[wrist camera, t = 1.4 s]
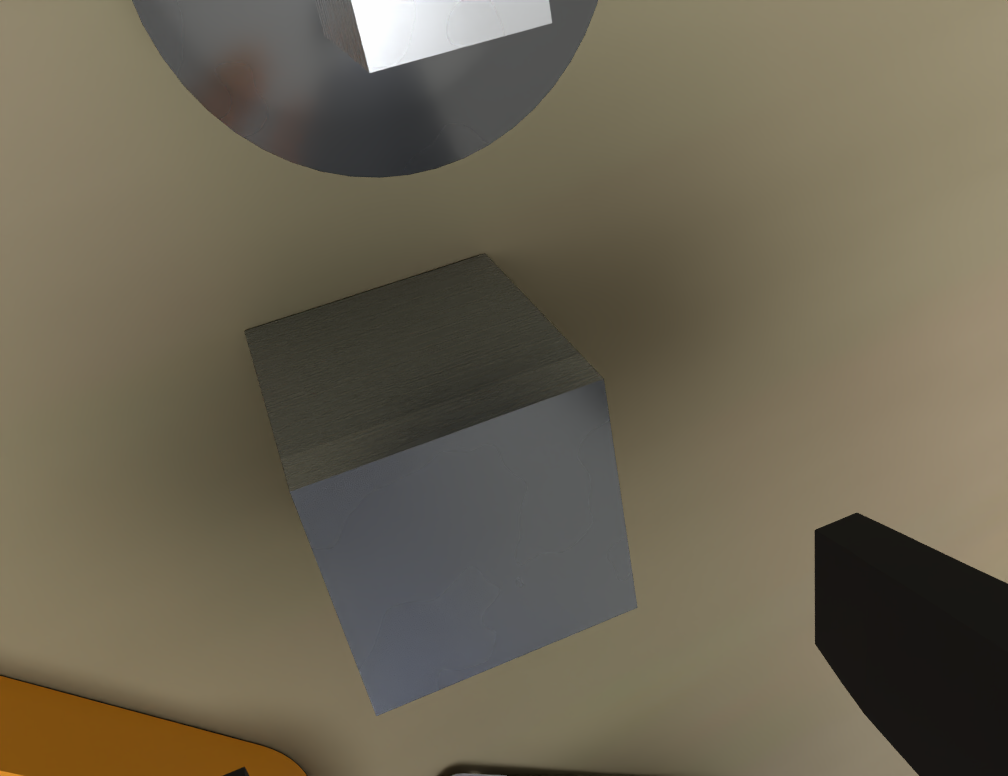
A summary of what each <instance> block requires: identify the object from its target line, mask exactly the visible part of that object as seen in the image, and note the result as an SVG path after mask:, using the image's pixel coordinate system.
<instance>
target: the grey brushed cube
mask: <svg viewBox="0 0 1008 776" xmlns="http://www.w3.org/2000/svg"><path fill="white" fill-rule="evenodd" d="M245 335H246V338H247V342H248V345H249V349H250V352H251V356H252V359H253V363H254V367H255V370H256V374H257V377H258V381H259V384H260V388H261V391H262V395H263V398H264V402H265V406H266V409H267V413H268V416H269V420H270V423H271V427H272V430H273V434H274V437H275V441H276V445H277V448H278V452H279V455H280V459H281V462H282V466H283V469H284V473H285V477H286V480H287V484H288V487H289V491H290V494H291V496H292V499H293V501H294V504H295V507H296V509H297V512H298V514H299V517H300V519H301V522H302V525H303V527H304V530H305V532H306V535H307V538H308V540H309V543H310V545H311V548H312V551H313V553H314V556H315V558H316V561H317V563H318V566H319V569H320V571H321V574H322V576H323V579H324V582H325V584H326V587H327V589H328V592H329V595H330V597H331V600H332V602H333V605H334V607H335V610H336V613H337V615H338V618H339V620H340V623H341V626H342V628H343V631H344V633H345V636H346V639H347V641H348V644H349V646H350V649H351V651H352V654H353V657H354V659H355V662H356V664H357V667H358V670H359V672H360V675H361V677H362V680H363V683H364V685H365V688H366V690H367V693H368V695H369V698H370V701H371V703H372V706H373V708H374V711H375V714H376V716H378V715H380V714H383V713H385V712H387V711H390V710H392V709H395V708H397V707H399V706H402V705H404V704H407V703H409V702H411V701H414V700H416V699H419V698H421V697H423V696H426V695H428V694H431V693H433V692H436V691H438V690H440V689H443V688H445V687H448V686H450V685H452V684H455V683H457V682H460V681H462V680H464V679H467V678H469V677H472V676H474V675H476V674H479V673H481V672H484V671H486V670H488V669H491V668H493V667H496V666H498V665H500V664H503V663H505V662H508V661H510V660H513V659H515V658H517V657H520V656H522V655H525V654H527V653H529V652H532V651H534V650H537V649H539V648H541V647H544V646H546V645H549V644H551V643H553V642H556V641H558V640H561V639H563V638H565V637H568V636H570V635H573V634H575V633H577V632H580V631H582V630H585V629H587V628H589V627H592V626H594V625H597V624H599V623H602V622H604V621H606V620H609V619H611V618H614V617H616V616H618V615H621V614H623V613H626V612H628V611H630V610H633V609H635V608H637V601H636V595H635V588H634V581H633V574H632V567H631V561H630V554H629V547H628V540H627V533H626V527H625V520H624V513H623V506H622V499H621V493H620V486H619V479H618V472H617V465H616V458H615V452H614V445H613V438H612V431H611V424H610V418H609V411H608V404H607V397H606V390H605V384H604V379H603V378H602V376H601V375H600V374H599V373H598V372H597V371H596V370H595V369H594V368H593V367H592V366H591V365H590V364H589V363H588V362H587V361H586V360H585V359H584V357H583V356H582V355H581V354H580V353H579V352H578V351H577V350H576V349H575V348H574V347H573V346H572V345H571V344H570V343H569V342H568V341H567V340H566V338H565V337H564V336H563V335H562V334H561V333H560V332H559V331H558V330H557V329H556V328H555V327H554V326H553V325H552V324H551V323H550V322H549V321H548V319H547V318H546V317H545V316H544V315H543V314H542V313H541V312H540V311H539V310H538V309H537V308H536V307H535V306H534V305H533V304H532V303H531V302H530V300H529V299H528V298H527V297H526V296H525V295H524V294H523V293H522V292H521V291H520V290H519V289H518V288H517V287H516V286H515V285H514V284H513V283H512V281H511V280H510V279H509V278H508V277H507V276H506V275H505V274H504V273H503V272H502V271H501V270H500V269H499V268H498V267H497V266H496V265H495V264H494V262H493V261H492V260H491V259H490V258H489V257H488V256H487V255H486V254H482V255H479V256H476V257H473V258H470V259H467V260H464V261H461V262H458V263H454V264H451V265H448V266H445V267H442V268H439V269H436V270H433V271H430V272H426V273H423V274H420V275H417V276H414V277H411V278H408V279H405V280H402V281H399V282H395V283H392V284H389V285H386V286H383V287H380V288H377V289H374V290H371V291H367V292H364V293H361V294H358V295H355V296H352V297H349V298H346V299H343V300H339V301H336V302H333V303H330V304H327V305H324V306H321V307H318V308H315V309H311V310H308V311H305V312H302V313H299V314H296V315H293V316H290V317H287V318H284V319H280V320H277V321H274V322H271V323H268V324H265V325H262V326H259V327H256V328H252V329H249V330H246V331H245Z"/></svg>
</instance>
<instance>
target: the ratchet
mask: <svg viewBox="0 0 1008 776" xmlns="http://www.w3.org/2000/svg"><path fill="white" fill-rule="evenodd" d="M132 1H133V3H134V6H135V8H136V10H137V12H138V15H139V17H140V19H141V22H142V24H143V26H144V27H145V29H146V31H147V32H148V34H149V36H150V38H151V39H152V41H153V43H154V44H155V46H156V48H157V49H158V51H159V53H160V55H161V56H162V58H163V59H164V60H165V62H166V63H167V64H168V65H169V67H170V68H171V69H172V71H173V72H174V73H175V75H176V76H177V77H178V79H179V80H180V81H181V83H182V84H183V85H184V86H185V87H186V88H187V89H188V90H189V91H190V92H191V93H192V94H193V95H194V97H195V98H196V99H197V100H198V101H199V102H200V103H201V104H202V105H203V106H204V107H205V108H206V109H207V110H208V111H209V112H211V113H212V114H213V115H214V116H216V117H217V118H218V119H219V120H221V121H222V122H223V123H224V124H226V125H227V126H228V127H229V128H230V129H232V130H233V131H234V132H236V133H237V134H239V135H241V136H242V137H244V138H245V139H247V140H249V141H250V142H252V143H254V144H255V145H257V146H258V147H260V148H262V149H263V150H266V151H268V152H270V153H272V154H274V155H277V156H279V157H281V158H283V159H285V160H288V161H290V162H292V163H295V164H299V165H302V166H305V167H309V168H312V169H315V170H318V171H322V172H328V173H334V174H340V175H346V176H354V177H390V176H400V175H410V174H414V173H418V172H423V171H427V170H431V169H436V168H439V167H441V166H444V165H447V164H449V163H452V162H455V161H458V160H460V159H463V158H465V157H467V156H469V155H471V154H473V153H474V152H476V151H478V150H480V149H482V148H484V147H486V146H488V145H489V144H491V143H492V142H494V141H495V140H497V139H498V138H499V137H501V136H502V135H504V134H505V133H507V132H508V131H509V130H511V129H512V128H513V127H514V126H516V125H517V124H518V123H519V122H520V121H521V120H522V119H523V118H524V117H526V116H527V115H528V114H529V113H530V112H531V111H532V110H533V109H534V108H535V107H536V106H537V105H538V104H539V103H540V101H541V100H542V99H543V98H544V97H545V96H546V95H547V93H548V92H549V91H550V90H551V89H552V88H553V87H554V85H555V84H556V82H557V81H558V79H559V78H560V76H561V75H562V73H563V72H564V71H565V69H566V68H567V66H568V65H569V63H570V62H571V60H572V58H573V56H574V54H575V52H576V50H577V49H578V47H579V45H580V43H581V41H582V39H583V37H584V35H585V33H586V31H587V28H588V26H589V23H590V21H591V18H592V16H593V13H594V10H595V8H596V5H597V2H598V0H132Z"/></svg>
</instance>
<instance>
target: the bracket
mask: <svg viewBox="0 0 1008 776" xmlns="http://www.w3.org/2000/svg"><path fill="white" fill-rule="evenodd" d="M244 766H245V768H246V770H247V772H248V774H249V776H307V775H306V774H305V772H304V771H303V770H302V769H301V768H300V767H299V766H298V765H297V764H296V763H295V762H294V761H292V760H291V759H290V758H288V757H286V756H285V755H283V754H281V753H279V752H277V751H275V750H273V749H270V748H267V747H264V746H261V745H257V744H253V743H249V742H246V741H242V740H238V739H234V738H231V737H227V736H223V735H219V734H216V733H212V732H208V731H205V730H201V729H197V728H193V727H190V726H186V725H182V724H178V723H175V722H171V721H167V720H163V719H160V718H156V717H152V716H148V715H145V714H141V713H137V712H134V711H130V710H126V709H122V708H119V707H115V706H111V705H107V704H104V703H100V702H96V701H92V700H89V699H85V698H81V697H78V696H74V695H70V694H66V693H63V692H59V691H55V690H51V689H48V688H44V687H40V686H36V685H33V684H29V683H25V682H22V681H18V680H14V679H10V678H7V677H3V676H0V776H223V775H225V774H228V773H230V772H232V771H235V770H237V769H240V768H242V767H244Z"/></svg>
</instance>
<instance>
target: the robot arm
mask: <svg viewBox="0 0 1008 776" xmlns="http://www.w3.org/2000/svg"><path fill="white" fill-rule="evenodd" d="M815 644H816V646H817V647H818V649H819V650H820V652H821V653H822V655H823V656H824V657H825V659H826V660H827V662H828V663H829V665H830V666H831V668H832V669H833V671H834V672H835V674H836V675H837V677H838V678H839V679H840V681H841V682H842V684H843V685H844V686H845V688H846V689H847V691H848V692H849V693H850V695H851V696H852V697H853V699H854V700H855V702H856V703H857V704H858V706H859V707H860V709H861V710H862V711H863V713H864V714H865V715H866V716H867V717H868V719H869V720H870V721H871V722H872V723H873V724H874V725H875V727H876V728H877V729H878V730H879V731H880V732H881V733H882V735H883V736H884V737H885V738H886V739H887V740H888V741H889V742H890V743H891V745H892V746H893V747H894V748H895V749H896V750H897V751H898V752H899V754H900V755H901V756H902V757H903V758H904V759H905V760H906V761H907V763H908V764H909V765H910V766H911V767H912V768H913V769H914V770H915V771H916V773H917V774H918V775H919V776H1008V584H1007V583H1005V582H1003V581H1001V580H999V579H996V578H994V577H992V576H990V575H988V574H986V573H984V572H981V571H979V570H977V569H975V568H973V567H971V566H969V565H966V564H964V563H962V562H960V561H958V560H956V559H954V558H952V557H950V556H947V555H945V554H943V553H941V552H939V551H937V550H935V549H933V548H931V547H929V546H927V545H924V544H922V543H920V542H918V541H916V540H914V539H912V538H910V537H908V536H906V535H904V534H902V533H899V532H897V531H895V530H893V529H891V528H889V527H887V526H885V525H883V524H880V523H878V522H876V521H874V520H872V519H870V518H868V517H865V516H863V515H861V514H859V513H855V514H852V515H850V516H848V517H845V518H843V519H840V520H838V521H835V522H833V523H831V524H828V525H826V526H823V527H821V528H819V529H816V530H815ZM223 776H249V774H248V772H247V770H246V768H245V766H244V767H242V768H240V769H237V770H235V771H232V772H230V773H228V774H225V775H223ZM452 776H505V775H486V774H466V773H461V774H454V775H452Z"/></svg>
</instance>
